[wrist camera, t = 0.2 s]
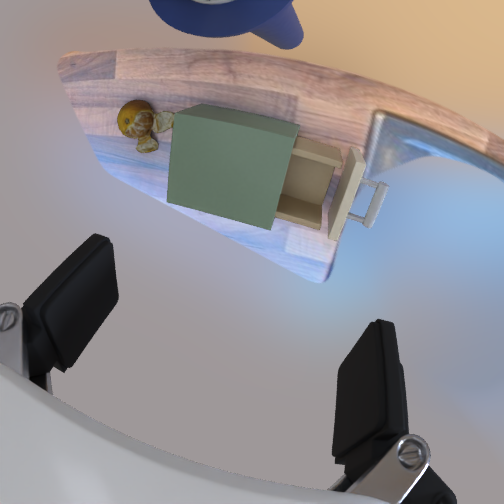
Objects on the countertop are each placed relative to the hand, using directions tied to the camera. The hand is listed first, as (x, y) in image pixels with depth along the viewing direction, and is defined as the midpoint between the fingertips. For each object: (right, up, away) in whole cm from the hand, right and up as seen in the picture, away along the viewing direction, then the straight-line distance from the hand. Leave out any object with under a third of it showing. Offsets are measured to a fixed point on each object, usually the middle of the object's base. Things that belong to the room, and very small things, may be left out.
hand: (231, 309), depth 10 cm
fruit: (-15, +21, +31) cm, 40 cm away
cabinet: (-1, +16, +31) cm, 34 cm away
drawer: (+10, +12, +29) cm, 33 cm away
